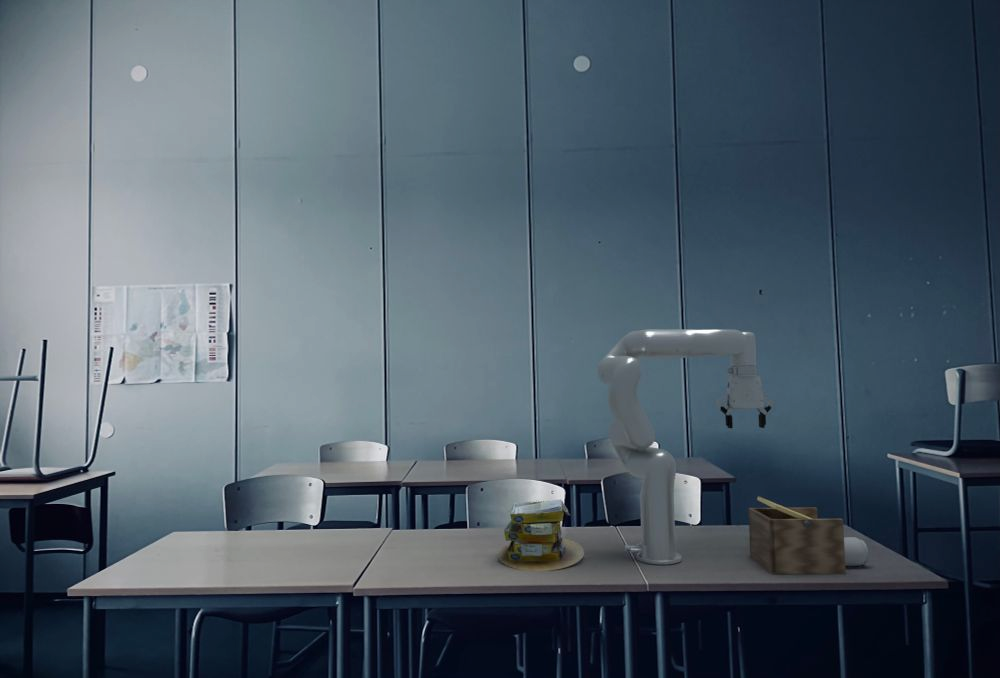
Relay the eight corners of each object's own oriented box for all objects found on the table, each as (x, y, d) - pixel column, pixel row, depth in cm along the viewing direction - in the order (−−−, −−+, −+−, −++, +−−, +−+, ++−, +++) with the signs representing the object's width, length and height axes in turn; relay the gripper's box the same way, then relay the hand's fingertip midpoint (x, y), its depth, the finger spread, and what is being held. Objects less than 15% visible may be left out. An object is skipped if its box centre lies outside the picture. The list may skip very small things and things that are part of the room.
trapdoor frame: (773, 575, 177) (770, 520, 178) (749, 556, 195) (747, 507, 196) (847, 574, 176) (844, 520, 177) (816, 556, 195) (814, 506, 196)
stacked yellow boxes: (571, 574, 181) (569, 511, 182) (485, 566, 190) (484, 506, 191) (592, 552, 204) (591, 496, 205) (515, 546, 213) (514, 492, 214)
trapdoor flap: (774, 508, 180) (776, 505, 180) (756, 499, 194) (758, 496, 194) (832, 532, 179) (833, 528, 179) (809, 521, 193) (811, 517, 193)
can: (815, 565, 188) (858, 564, 188) (827, 567, 180) (872, 567, 180) (811, 537, 189) (854, 536, 189) (824, 538, 182) (868, 537, 182)
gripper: (718, 372, 205) (720, 429, 204) (776, 371, 204) (779, 428, 203) (711, 372, 212) (714, 427, 211) (767, 371, 212) (770, 426, 211)
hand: (745, 427), depth 207 cm, fingers open, 9 cm apart
